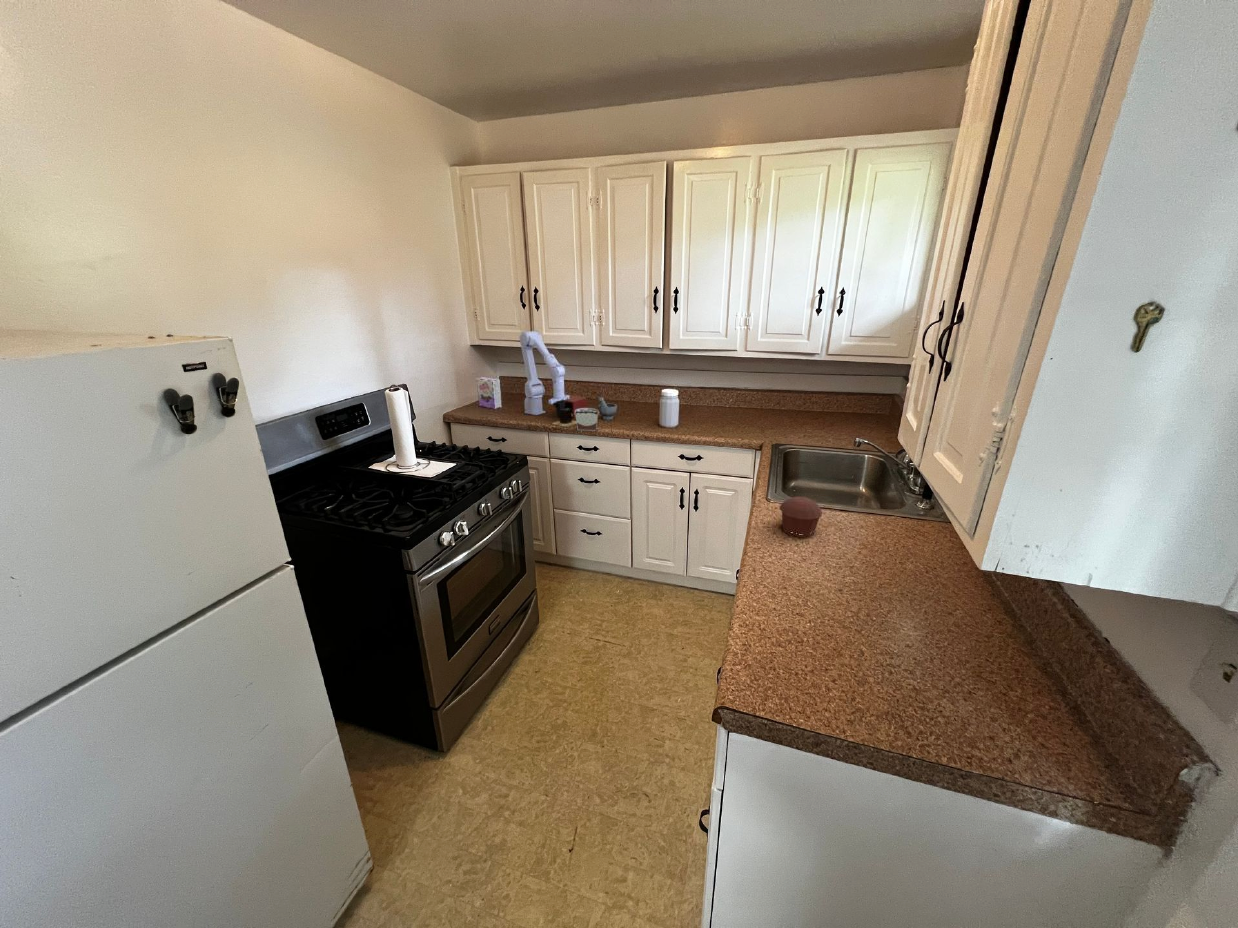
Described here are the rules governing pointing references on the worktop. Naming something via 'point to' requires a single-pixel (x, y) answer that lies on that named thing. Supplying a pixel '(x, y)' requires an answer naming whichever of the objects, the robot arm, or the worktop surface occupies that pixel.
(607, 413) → the mortar and pestle
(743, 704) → the worktop surface
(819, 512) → the muffin
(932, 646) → the worktop surface
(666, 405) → the jar
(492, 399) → the candy box
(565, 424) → the trivet
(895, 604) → the worktop surface
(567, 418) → the black weight
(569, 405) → the dark red block
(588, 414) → the food container
